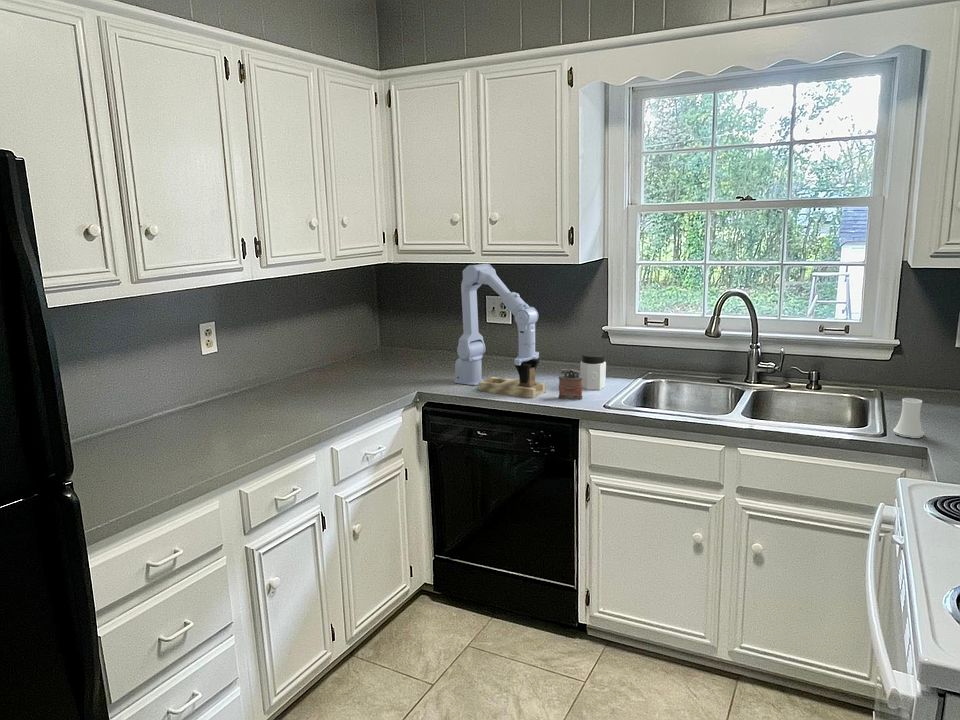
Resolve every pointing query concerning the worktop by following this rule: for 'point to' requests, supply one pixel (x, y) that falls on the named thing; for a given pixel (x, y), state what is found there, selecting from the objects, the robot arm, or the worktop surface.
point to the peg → (529, 378)
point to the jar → (593, 370)
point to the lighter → (570, 385)
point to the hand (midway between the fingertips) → (527, 381)
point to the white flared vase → (910, 418)
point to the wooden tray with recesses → (510, 387)
